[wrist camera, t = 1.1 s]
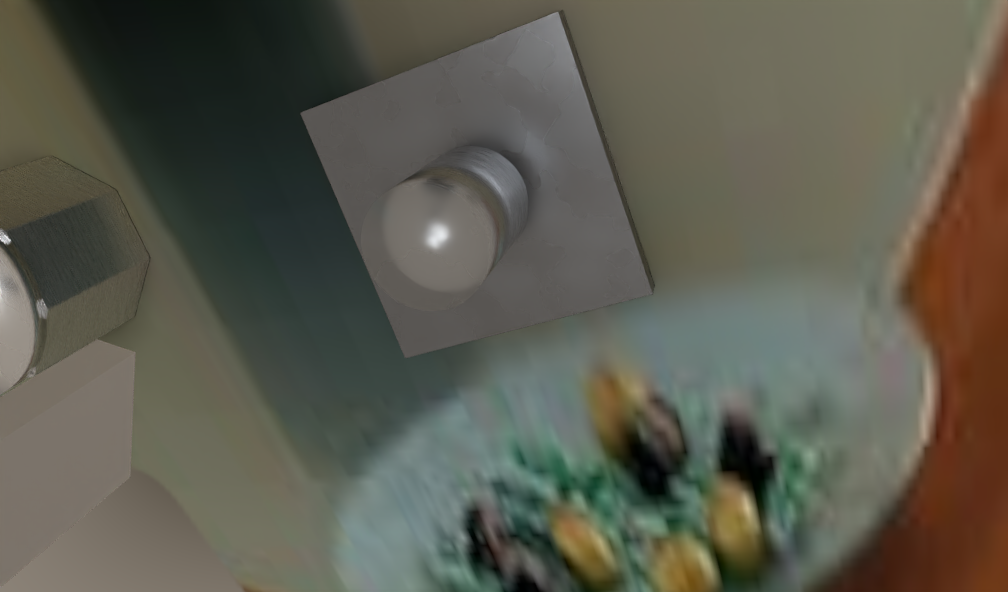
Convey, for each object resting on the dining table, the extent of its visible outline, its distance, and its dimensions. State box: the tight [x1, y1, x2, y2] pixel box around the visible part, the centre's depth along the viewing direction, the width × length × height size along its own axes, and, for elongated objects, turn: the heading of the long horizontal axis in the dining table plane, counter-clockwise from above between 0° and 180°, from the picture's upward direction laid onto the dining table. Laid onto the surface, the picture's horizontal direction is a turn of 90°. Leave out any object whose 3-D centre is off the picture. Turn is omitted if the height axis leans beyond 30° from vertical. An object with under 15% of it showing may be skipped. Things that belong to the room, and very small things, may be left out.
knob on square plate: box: [300, 10, 655, 358], centre depth 34 cm, size 12×12×8 cm
